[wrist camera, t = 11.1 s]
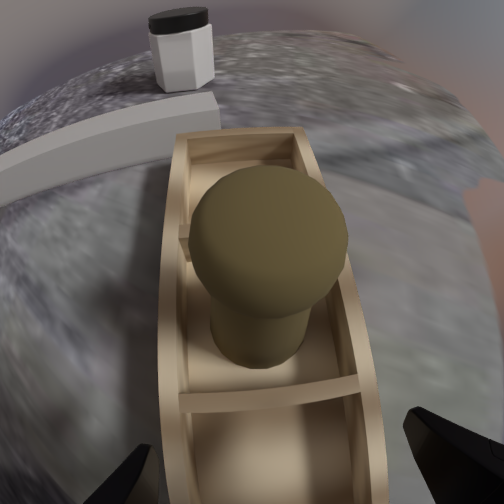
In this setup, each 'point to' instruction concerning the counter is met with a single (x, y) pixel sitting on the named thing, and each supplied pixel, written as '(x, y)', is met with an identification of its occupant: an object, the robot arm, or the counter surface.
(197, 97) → the decorative molding
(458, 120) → the counter surface
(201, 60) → the jar
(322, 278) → the olive pepper mill
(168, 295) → the spice rack
